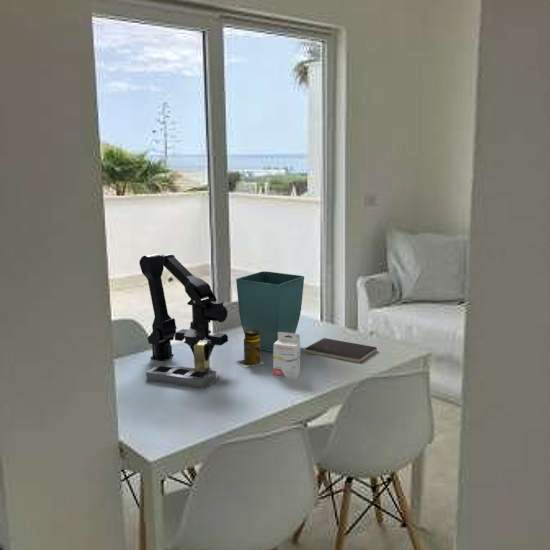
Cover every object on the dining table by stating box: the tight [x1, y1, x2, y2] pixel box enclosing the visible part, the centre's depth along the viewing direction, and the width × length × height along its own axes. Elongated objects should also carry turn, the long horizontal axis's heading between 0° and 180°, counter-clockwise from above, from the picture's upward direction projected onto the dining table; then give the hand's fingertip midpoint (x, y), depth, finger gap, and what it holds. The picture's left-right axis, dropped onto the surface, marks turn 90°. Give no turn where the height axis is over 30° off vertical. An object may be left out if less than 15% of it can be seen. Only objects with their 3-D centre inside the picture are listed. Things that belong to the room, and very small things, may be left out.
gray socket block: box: [145, 363, 217, 390], centre depth 201 cm, size 22×9×3 cm, turn 68°
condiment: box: [235, 330, 265, 368], centre depth 216 cm, size 7×8×12 cm
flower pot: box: [235, 270, 305, 353], centre depth 234 cm, size 20×20×28 cm
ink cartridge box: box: [272, 332, 301, 379], centre depth 204 cm, size 9×5×15 cm, turn 71°
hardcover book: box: [304, 337, 378, 363], centre depth 229 cm, size 16×23×2 cm
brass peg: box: [193, 341, 211, 370], centre depth 212 cm, size 4×4×9 cm
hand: (201, 360), depth 212 cm, fingers closed on brass peg, 4 cm apart
